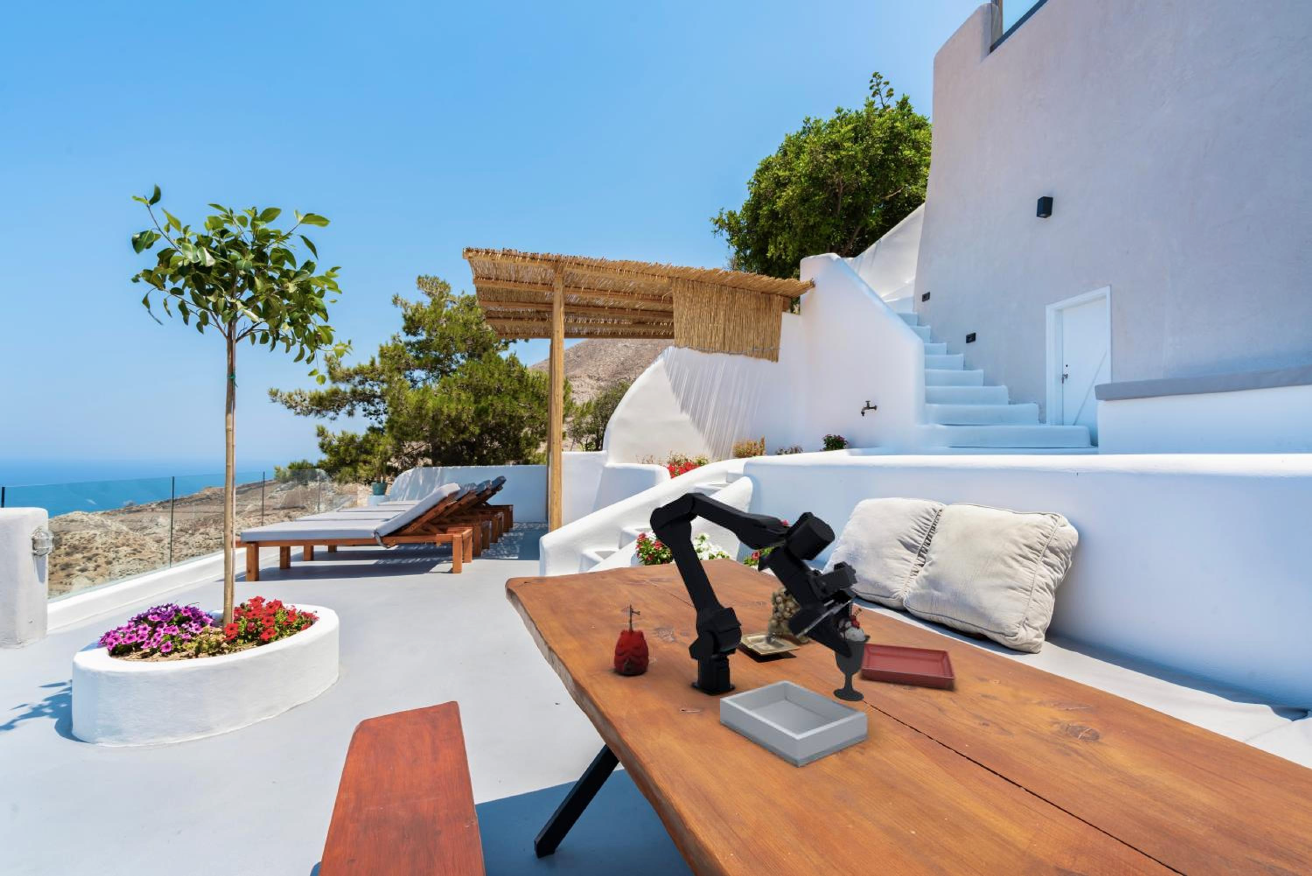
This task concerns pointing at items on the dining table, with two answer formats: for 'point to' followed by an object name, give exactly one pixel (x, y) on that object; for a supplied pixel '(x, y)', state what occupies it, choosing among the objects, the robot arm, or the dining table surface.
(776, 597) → the mineral formation
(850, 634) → the sundae
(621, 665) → the red fruit with stem
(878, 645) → the plant saucer
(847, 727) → the tray
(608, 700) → the dining table surface
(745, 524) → the robot arm
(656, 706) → the dining table surface
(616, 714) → the dining table surface
